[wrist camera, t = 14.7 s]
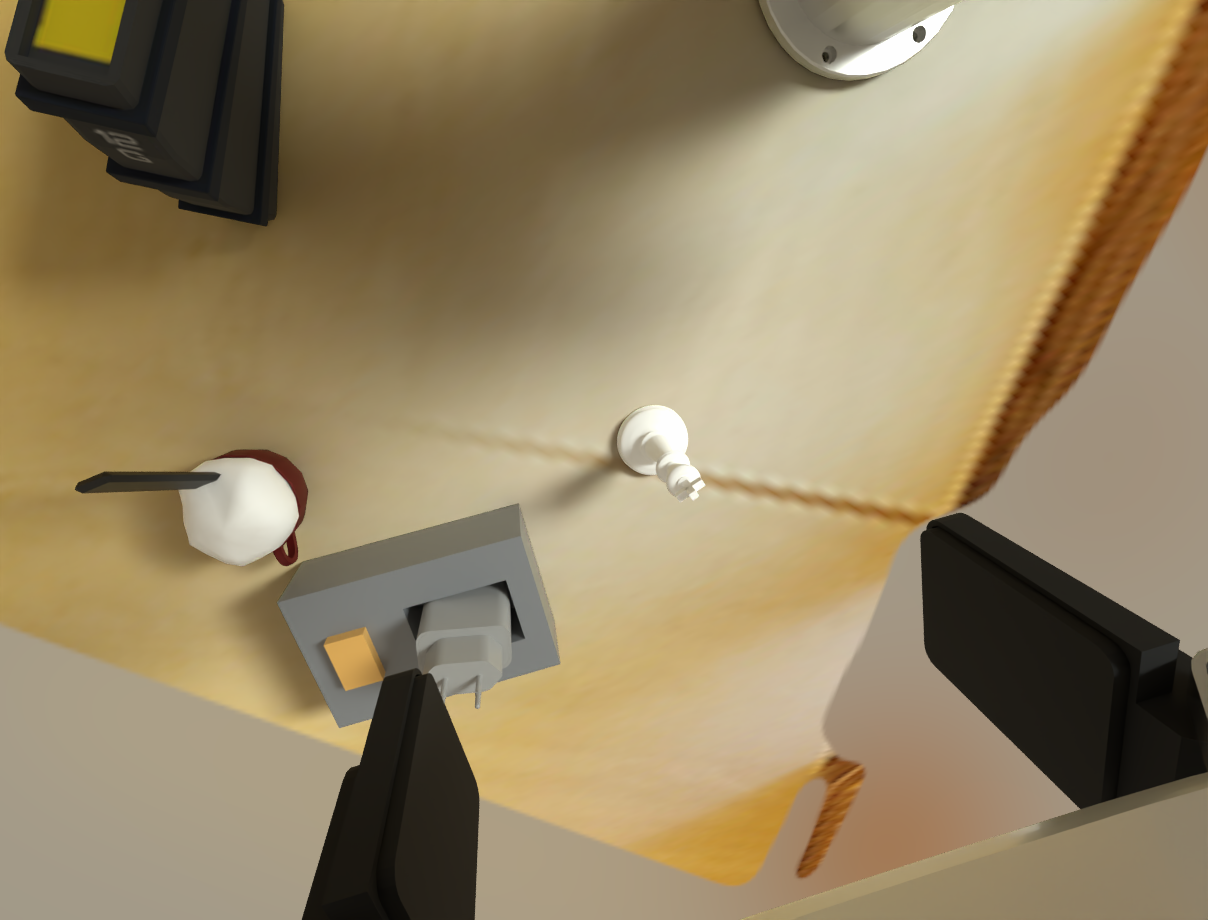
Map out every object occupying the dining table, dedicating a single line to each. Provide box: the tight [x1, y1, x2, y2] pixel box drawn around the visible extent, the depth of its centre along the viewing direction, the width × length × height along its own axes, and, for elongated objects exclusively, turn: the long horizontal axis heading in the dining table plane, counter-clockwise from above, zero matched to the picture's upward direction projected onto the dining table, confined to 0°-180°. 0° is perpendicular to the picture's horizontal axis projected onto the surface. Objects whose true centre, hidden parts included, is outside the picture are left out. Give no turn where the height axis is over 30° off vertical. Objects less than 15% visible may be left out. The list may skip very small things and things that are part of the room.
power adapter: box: [416, 580, 512, 709], centre depth 37 cm, size 3×5×12 cm, turn 90°
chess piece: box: [617, 405, 705, 502], centre depth 38 cm, size 5×5×10 cm
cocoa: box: [75, 450, 308, 566], centre depth 33 cm, size 10×6×12 cm
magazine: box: [5, 0, 284, 226], centre depth 27 cm, size 4×13×15 cm, turn 169°
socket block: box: [277, 504, 560, 728], centre depth 41 cm, size 15×10×6 cm, turn 103°
